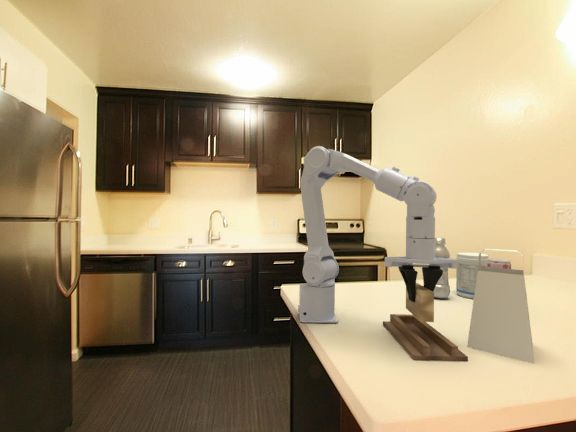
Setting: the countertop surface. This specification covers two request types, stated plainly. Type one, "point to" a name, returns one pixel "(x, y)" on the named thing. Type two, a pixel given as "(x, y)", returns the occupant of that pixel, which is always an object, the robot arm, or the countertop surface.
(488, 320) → the grater
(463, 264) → the supplement tub
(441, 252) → the plastic bottle
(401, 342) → the track
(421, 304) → the brown wooden block
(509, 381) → the countertop surface
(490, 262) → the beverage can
